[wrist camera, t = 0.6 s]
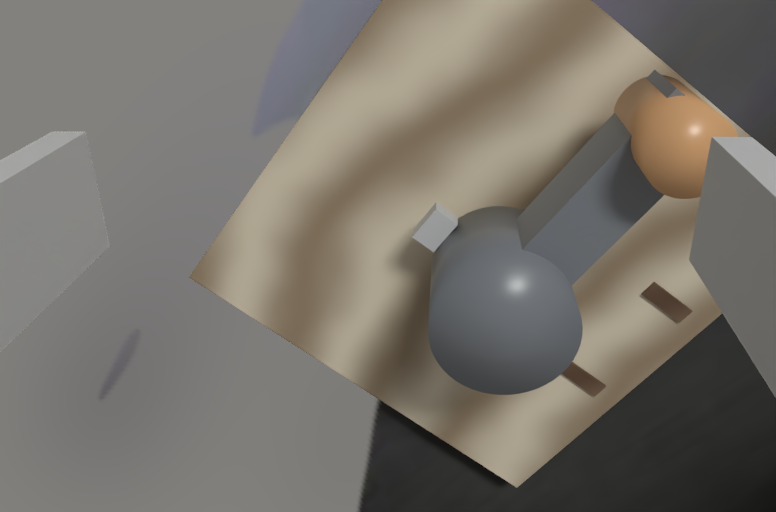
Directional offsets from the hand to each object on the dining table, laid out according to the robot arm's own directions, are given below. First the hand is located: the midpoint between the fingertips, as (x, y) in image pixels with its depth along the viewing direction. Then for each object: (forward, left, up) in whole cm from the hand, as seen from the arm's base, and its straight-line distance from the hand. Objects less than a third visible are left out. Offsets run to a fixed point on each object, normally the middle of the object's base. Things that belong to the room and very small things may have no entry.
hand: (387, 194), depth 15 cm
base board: (-11, +7, -25) cm, 28 cm away
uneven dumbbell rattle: (-11, +3, -20) cm, 23 cm away
